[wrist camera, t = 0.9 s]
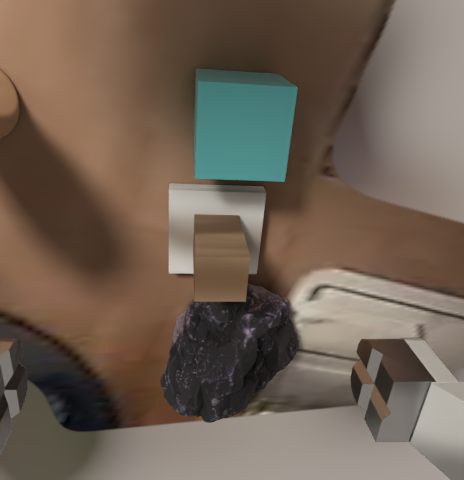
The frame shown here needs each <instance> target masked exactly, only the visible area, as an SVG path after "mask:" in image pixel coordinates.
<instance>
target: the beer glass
mask: <svg viewBox="0 0 464 480" xmlns="http://www.w3.org/2000/svg"><path fill="white" fill-rule="evenodd" d="M19 113H20V104H19V98H18V95H17V92H16V90H15V88H14V86H13V84H12V82H11V81H10V79H9V78H8V77H7V76H6V75H5V74H4V72H3V71H1V70H0V138H2V137H4V136H6V135H7V134H8V133H10V132H11V131H12V130H13V128H14V127H15V125H16V123H17V121H18V118H19Z"/></svg>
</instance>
